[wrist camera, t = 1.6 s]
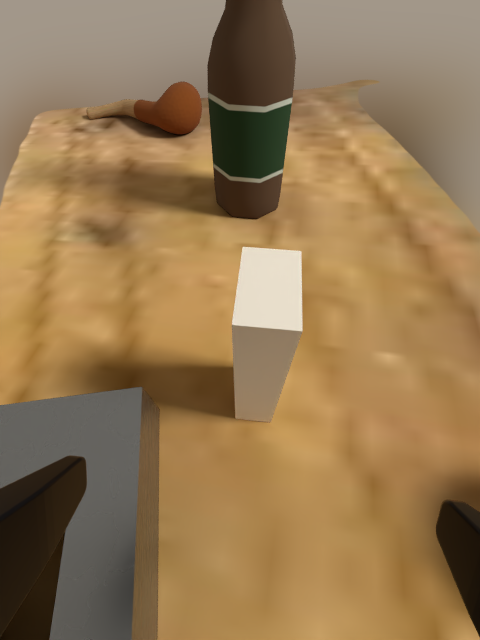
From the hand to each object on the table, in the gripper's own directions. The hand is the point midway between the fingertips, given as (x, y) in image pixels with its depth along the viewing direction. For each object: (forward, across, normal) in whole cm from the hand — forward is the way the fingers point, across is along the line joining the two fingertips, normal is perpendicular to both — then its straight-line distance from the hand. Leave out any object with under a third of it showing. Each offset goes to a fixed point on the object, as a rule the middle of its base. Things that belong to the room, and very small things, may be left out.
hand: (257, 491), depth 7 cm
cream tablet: (+14, 0, +4) cm, 15 cm away
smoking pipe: (+43, +20, -24) cm, 53 cm away
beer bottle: (+31, +3, -12) cm, 33 cm away
